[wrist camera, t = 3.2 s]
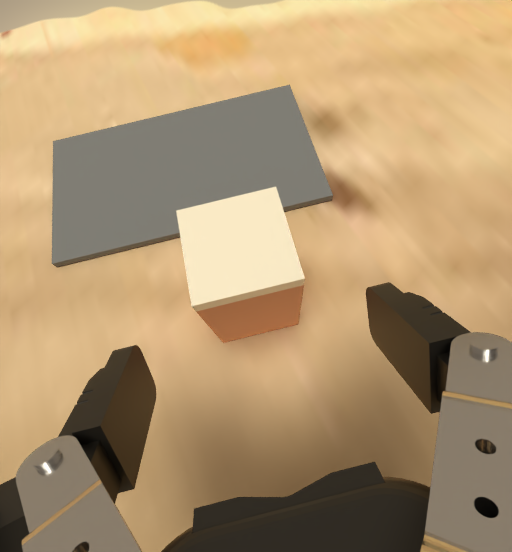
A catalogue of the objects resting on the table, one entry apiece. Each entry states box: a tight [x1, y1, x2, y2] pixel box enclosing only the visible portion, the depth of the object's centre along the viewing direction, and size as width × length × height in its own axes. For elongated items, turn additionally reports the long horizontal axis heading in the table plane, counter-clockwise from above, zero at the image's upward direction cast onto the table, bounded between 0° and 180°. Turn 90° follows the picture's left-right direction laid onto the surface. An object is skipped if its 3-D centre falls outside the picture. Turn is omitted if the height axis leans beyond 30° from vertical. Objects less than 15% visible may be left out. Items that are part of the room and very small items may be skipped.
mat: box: [52, 85, 333, 267], centre depth 27 cm, size 21×12×1 cm, turn 103°
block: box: [176, 187, 305, 343], centre depth 19 cm, size 5×5×8 cm
